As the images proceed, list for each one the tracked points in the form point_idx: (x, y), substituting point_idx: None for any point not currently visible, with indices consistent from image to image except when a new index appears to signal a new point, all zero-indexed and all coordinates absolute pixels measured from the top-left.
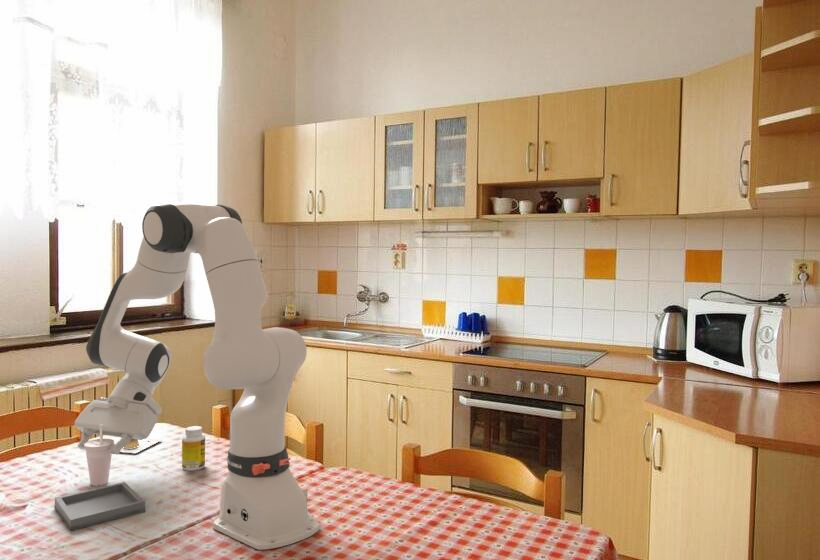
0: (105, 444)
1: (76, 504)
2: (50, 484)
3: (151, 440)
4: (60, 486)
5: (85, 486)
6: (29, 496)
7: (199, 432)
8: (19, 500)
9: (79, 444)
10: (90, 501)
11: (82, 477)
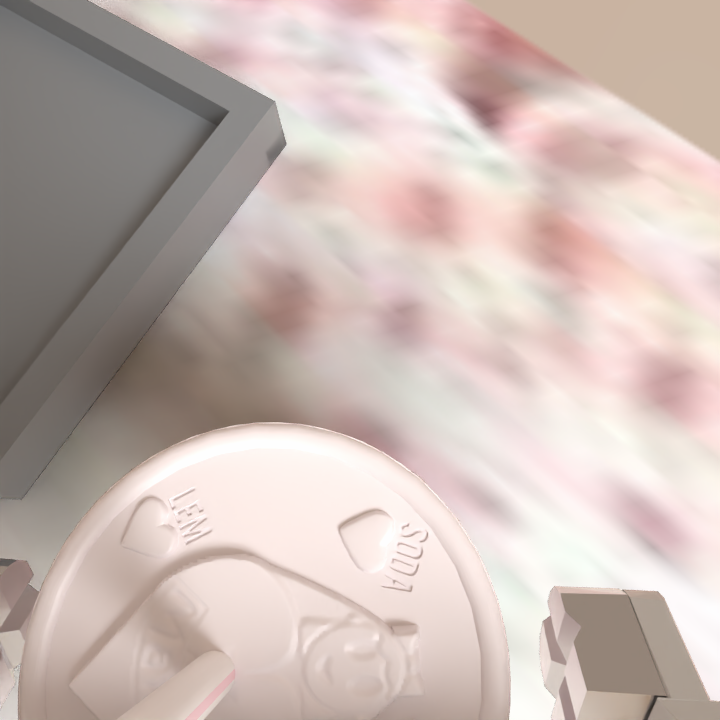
0: (96, 628)
1: (144, 165)
2: (673, 434)
3: None
4: (563, 426)
5: None
6: (600, 222)
7: None
8: (598, 158)
9: (643, 609)
10: (90, 228)
11: None
